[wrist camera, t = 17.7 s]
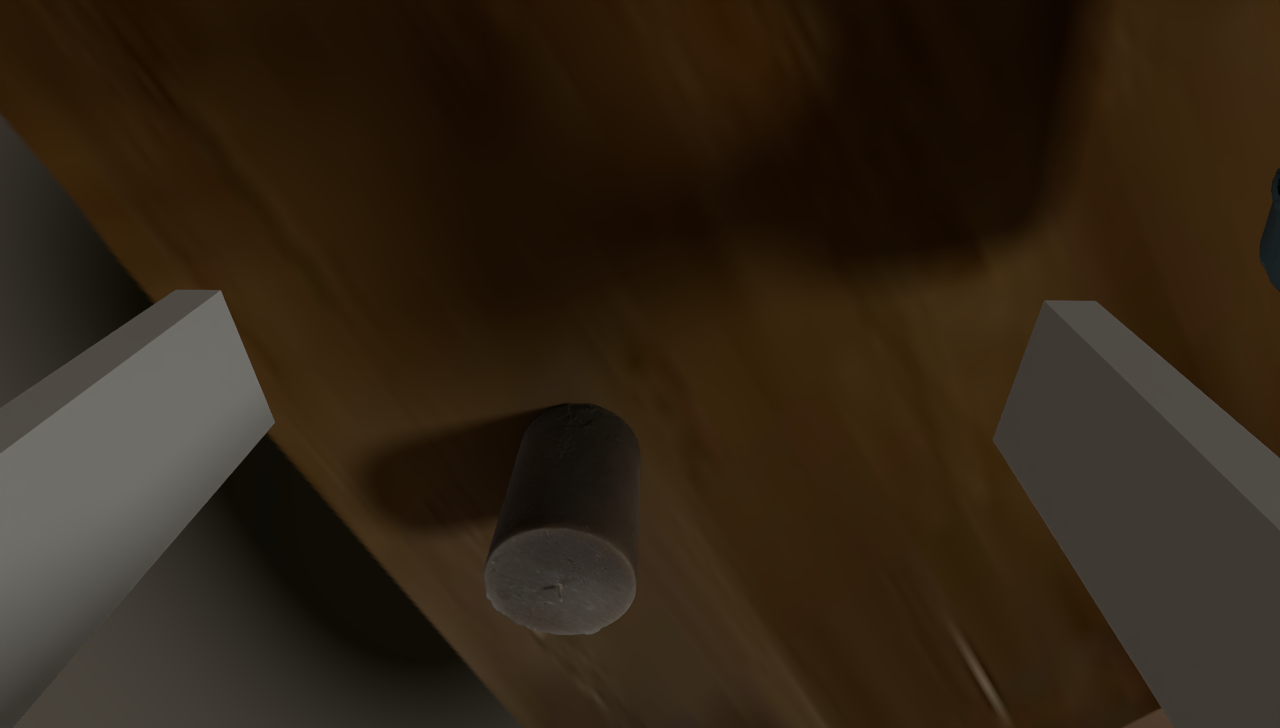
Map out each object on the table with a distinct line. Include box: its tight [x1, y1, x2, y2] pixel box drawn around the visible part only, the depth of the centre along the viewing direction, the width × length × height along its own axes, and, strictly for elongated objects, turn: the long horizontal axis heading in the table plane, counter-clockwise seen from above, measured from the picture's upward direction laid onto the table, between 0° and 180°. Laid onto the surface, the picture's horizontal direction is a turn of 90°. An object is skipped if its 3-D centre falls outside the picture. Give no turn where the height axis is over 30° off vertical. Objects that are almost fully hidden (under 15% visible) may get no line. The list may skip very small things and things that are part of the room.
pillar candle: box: [484, 404, 640, 635], centre depth 45 cm, size 10×10×15 cm
